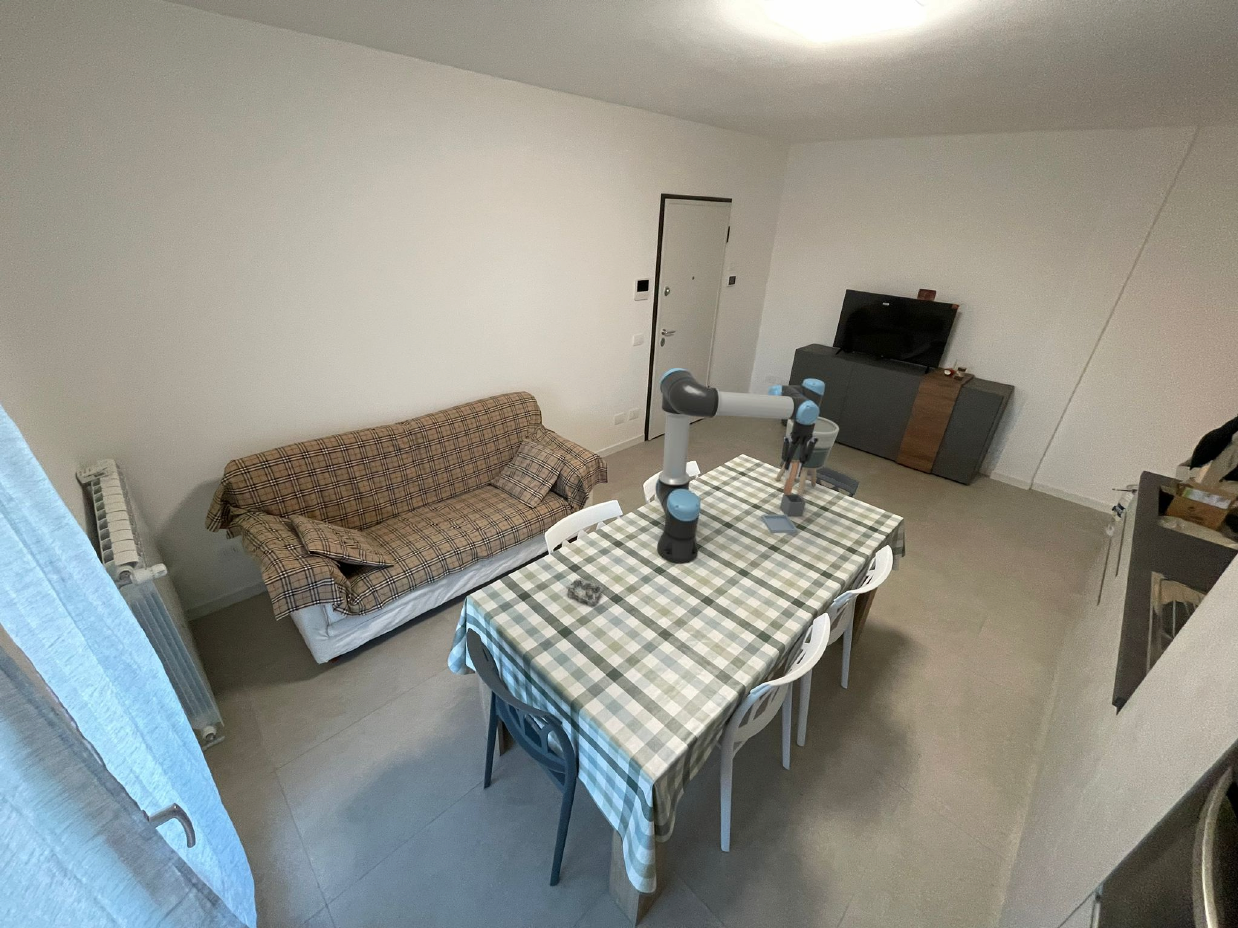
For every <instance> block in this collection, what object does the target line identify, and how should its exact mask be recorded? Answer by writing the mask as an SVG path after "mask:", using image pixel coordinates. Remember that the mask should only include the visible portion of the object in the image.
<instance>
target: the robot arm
mask: <svg viewBox="0 0 1238 928" xmlns="http://www.w3.org/2000/svg"><path fill="white" fill-rule="evenodd" d="M825 387H826V383H824V381H822V380H820V379H816V378H806V379H804V380H803V382H802V384H800V385H799V384H798V385H791V384H790V385H789V384H788V385H785V384H784V385H783V384H778V385H772V386H770V387H769V389H768V391H767V394H760V393H758V394H757V393H745V392H734V391H733V392H732V391H731V392H730V391H721V390H720V391H719V389H718V388H717V387H709V386H706V385H703V384H701V383H700V382H699V381H698V380H696V378H695V377H694V375H693V374H692V373H691V372H690V371H689V370H686V369H684V368H680V367H675V368H671V369H669V370H667V371H666V372H665V373H664V374H662V377H661V378H660V381H659V390H660V392H661V394H662V395H661V396H662V397H661V410H662V411H663V412H664V413H665V426H664V446H663V463H662V464H663V466H662V471H661V472H659V474H658V478H657V480H656V482H655V495H656V497H657V499H658V500H659V502H660V506H661V508H662V511H663V513H664V515H665V519H664V526H663V527H664V529H663V531H662V534H661V536H660V537H659V539H658V541H657V547H656V551H657V553H658V555H659V556H660V557H661V558H663V559H664V560H666V561H668V562H670V563H674V564H687V563H690V562H691V563H692V562H693V561H695V560H696V558H697V557H698V554H699V545H698V540H697V536H696V535H697V530H698V525H699V518H700V513H701V499H700V497H699V496H698V495H697V494H696V493H695V492H692V491H691V490H690V480H691V479H690V475H689V473H687V464H688V453H689V438H690V435H689V434H690V423H691V417H698V418H709V419H710V418H712V419H713V418H715V417H716V416H726V417H727V416H729V417H730V416H732V417H747V418H760V419H761V418H762V419H763V418H764V419H779V420H788V419H791V420H794V423H793V427H792V432H791V433H790V435H789V436H786V435H783V436H782V440H783V444H782V451H781V457H780V458H781V459H782V461H783V462H784V463H785V466H784V468H785V473H784V474H783V476H785V478H789V476H790V472H791V468H792V464H793V463H792V462H791V461H792V458H793V456H794V454H795V451H796V449H797V448H798V446H799V445H800V454H799V460H797V461H798V462H799V464H798V468H797V472H796V476H795V479H798V478H799V477H800V476H799V475H800V473H801V470H802V467H803V464H805V463H806V461H807V462H809V460H810V458H811V455H812V452H813V449H814V447H815V444H816V443H817V442H818V438H816V437H815V436H813V434H812V433H813V431H814V427H815V422H816V419H817V418H818V417H820V416H819V415H820V407H821V404H822V400H823V396H824V393H825V390H826V389H825ZM790 439H792V442H791V447H790V449H789V442H790ZM809 440H810V442H809V444H808V447H807V442H808V441H809ZM806 447H807V450H806ZM788 450H789V452H788Z"/></svg>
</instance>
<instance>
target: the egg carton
mask: <svg viewBox="0 0 1238 928" xmlns="http://www.w3.org/2000/svg"><path fill="white" fill-rule="evenodd" d="M575 587H576V588H577V587H580V589H581V590H582V591H585V595H584V593H583V592H582V591H576V590H575ZM565 588H566V589H567V596H568V597H569V599H571V600H573V599H577V601H578V603H584V602H586V603H587V606H589V607H591V606H596V605H597V602H598V599H601V598H602V592H603V589H604V586H602V585H597V583H594V582H591V581H589V580H586V579H584V578H582V577H578V578H575V579H574V580H573V581H572V582H571V584H570V585H568V586H566V587H565ZM583 595H584V596H583ZM593 596H594V599H593Z"/></svg>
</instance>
